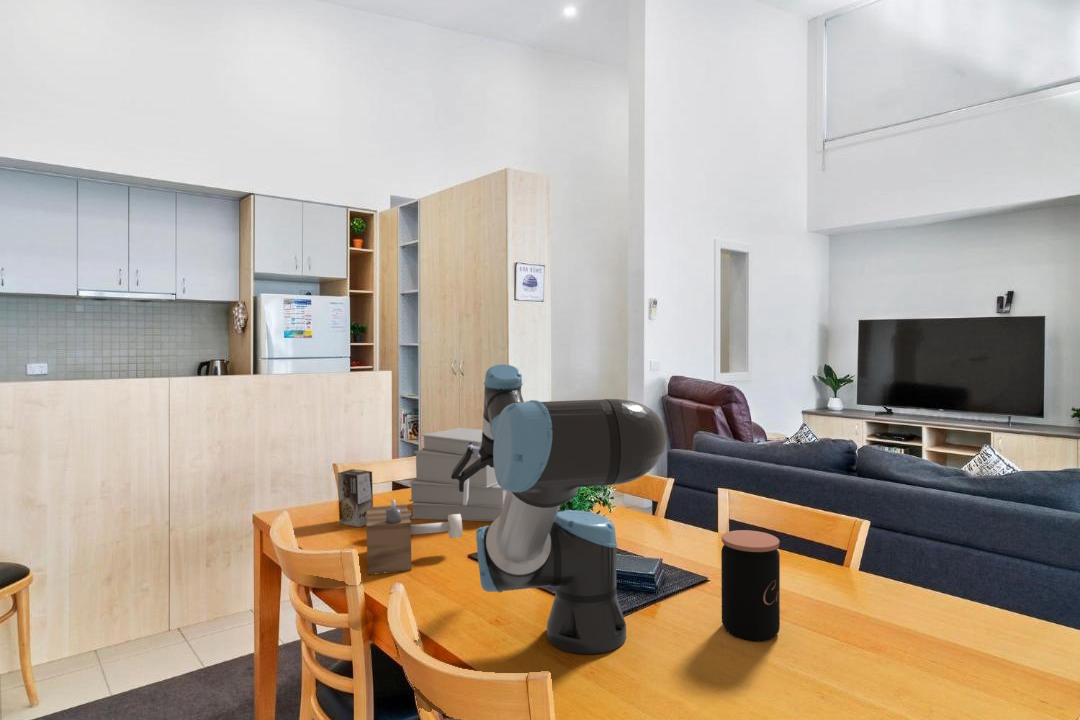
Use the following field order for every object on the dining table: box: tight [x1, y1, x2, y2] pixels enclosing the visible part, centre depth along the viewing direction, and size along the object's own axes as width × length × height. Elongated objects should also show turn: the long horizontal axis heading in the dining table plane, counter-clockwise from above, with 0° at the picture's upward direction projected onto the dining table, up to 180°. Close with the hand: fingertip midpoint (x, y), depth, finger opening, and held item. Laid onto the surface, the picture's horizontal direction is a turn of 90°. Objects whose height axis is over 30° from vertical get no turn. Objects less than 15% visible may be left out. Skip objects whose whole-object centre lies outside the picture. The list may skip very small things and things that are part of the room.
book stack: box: [408, 427, 506, 522], centre depth 212 cm, size 30×35×26 cm
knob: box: [411, 514, 463, 539], centre depth 168 cm, size 6×15×6 cm, turn 105°
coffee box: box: [337, 468, 374, 528], centre depth 200 cm, size 9×6×16 cm
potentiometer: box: [386, 499, 401, 524], centre depth 159 cm, size 4×4×5 cm
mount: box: [366, 503, 413, 575], centre depth 166 cm, size 18×11×12 cm, turn 15°
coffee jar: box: [720, 529, 781, 643], centre depth 124 cm, size 11×11×18 cm
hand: (494, 505), depth 148 cm, fingers open, 13 cm apart
